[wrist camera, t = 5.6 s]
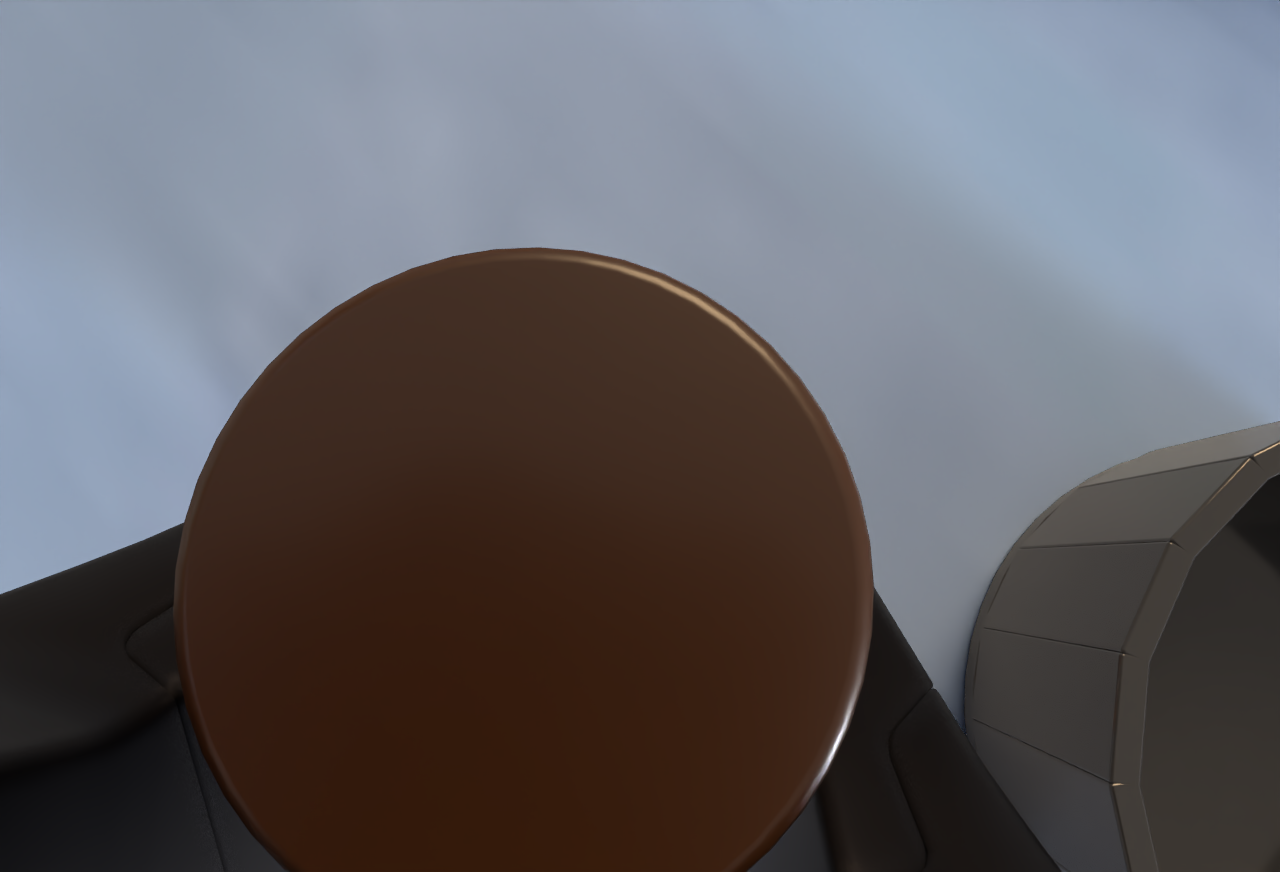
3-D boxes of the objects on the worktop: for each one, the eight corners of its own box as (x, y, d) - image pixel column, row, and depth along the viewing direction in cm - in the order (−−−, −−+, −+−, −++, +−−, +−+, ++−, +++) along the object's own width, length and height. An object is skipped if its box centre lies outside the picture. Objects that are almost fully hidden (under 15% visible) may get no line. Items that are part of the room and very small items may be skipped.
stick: (725, 573, 15) (1034, 591, 3) (619, 677, 15) (494, 1154, 3) (625, 468, 16) (542, 109, 3) (519, 567, 16) (18, 565, 3)
